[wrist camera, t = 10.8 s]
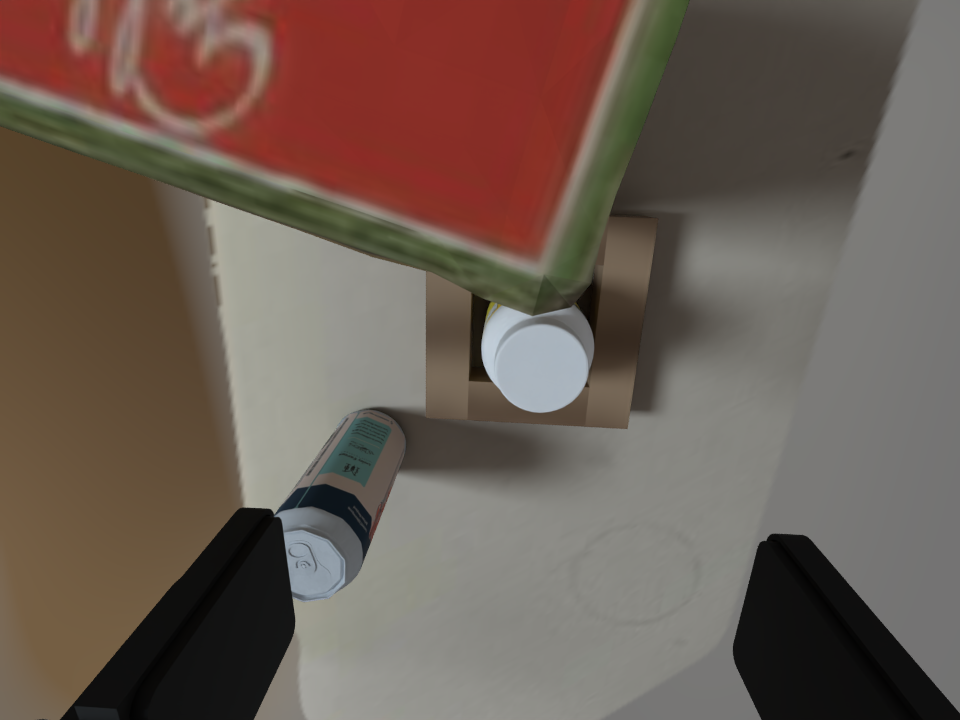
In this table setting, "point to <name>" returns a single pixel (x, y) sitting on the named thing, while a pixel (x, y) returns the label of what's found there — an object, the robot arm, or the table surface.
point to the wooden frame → (611, 322)
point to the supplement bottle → (537, 355)
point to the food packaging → (364, 118)
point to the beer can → (340, 504)
